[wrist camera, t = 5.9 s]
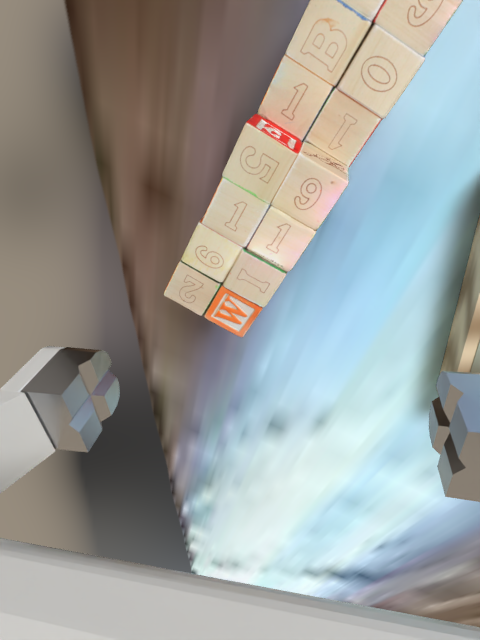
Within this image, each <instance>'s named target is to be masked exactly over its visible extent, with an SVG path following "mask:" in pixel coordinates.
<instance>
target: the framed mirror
mask: <svg viewBox="0 0 480 640" xmlns="http://www.w3.org/2000/svg"><path fill="white" fill-rule="evenodd" d="M442 371H451V372H469V373H480V215H479V219H478V223H477V227H476V231H475V235H474V239H473V243H472V247H471V251H470V255H469V259H468V263H467V267H466V271H465V275H464V279H463V283H462V287H461V291H460V295H459V299H458V303H457V307H456V311H455V315H454V319H453V323H452V327H451V331H450V335H449V339H448V343H447V347H446V351H445V355H444V359H443V363H442V367H441V370H440V373H441V372H442ZM439 375H440V374H439ZM436 389H437V387H436ZM437 392H438V391H437ZM438 395H439V394H438Z"/></svg>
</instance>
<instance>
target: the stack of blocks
mask: <svg viewBox="0 0 480 640" xmlns="http://www.w3.org/2000/svg"><path fill="white" fill-rule="evenodd" d="M462 1H463V0H310V2H309V4H308V6H307V8H306V10H305V12H304V15H303V17H302V19H301V21H300V23H299V25H298V27H297V29H296V31H295V33H294V35H293V38H292V40H291V42H290V44H289V46H288V48H287V50H286V53H285V55H284V56H283V58H282V60H281V62H280V64H279V66H278V68H277V70H276V72H275V75H274V77H273V79H272V81H271V83H270V85H269V88H268V90H267V92H266V94H265V96H264V98H263V100H262V103H261V105H260V107H259V109H258V114H255V115H253V117H251V118H250V119H249V120H248V121H247V122H246V123H245V125H244V128H243V130H242V132H241V134H240V136H239V138H238V141H237V143H236V145H235V147H234V149H233V152H232V154H231V156H230V158H229V160H228V163H227V165H226V167H225V169H224V171H223V173H222V179H221V181H220V183H219V185H218V187H217V189H216V192H215V194H214V196H213V198H212V200H211V202H210V204H209V206H208V209H207V211H206V213H205V215H204V216H203V217H202V219H201V220H200V221H199V223H198V225H197V227H196V229H195V231H194V233H193V235H192V237H191V239H190V242H189V244H188V246H187V248H186V250H185V252H184V254H183V256H182V259H181V260H180V262H179V263H178V265H177V267H176V269H175V271H174V273H173V275H172V277H171V279H170V281H169V283H168V285H167V287H166V289H165V291H164V295H165V296H166V297H168V298H170V299H172V300H173V301H175V302H177V303H179V304H181V305H182V306H184V307H186V308H188V309H189V310H191V311H193V312H195V313H196V314H198V315H200V316H202V315H204V317H205V318H207V319H208V320H209V321H211V322H213V323H215V324H217V325H219V326H221V327H222V328H224V329H226V330H228V331H230V332H232V333H234V334H236V335H238V336H240V337H243V336H244V335H245V333H246V332H247V331H248V329H249V328H250V326H251V325H252V323H253V322H254V320H255V319H256V318H257V316H258V315H259V313H260V312H261V310H262V308H263V307H265V306H266V305H267V303H268V302H269V300H270V299H271V297H272V296H273V294H274V293H275V291H276V290H277V288H278V287H279V285H280V284H281V282H282V281H283V279H284V278H285V276H286V274H287V272H288V271H290V270H292V268H293V267H294V265H295V264H296V263H297V261H298V259H299V258H300V256H301V255H302V254H303V252H304V251H305V249H306V248H307V246H308V245H309V243H310V242H311V240H312V239H313V237H314V235H315V233H316V231H317V229H318V228H319V227H320V226H321V224H322V223H323V221H324V220H325V218H326V217H327V215H328V214H329V212H330V211H331V209H332V208H333V206H334V205H335V203H336V202H337V201H338V199H339V197H340V196H341V194H342V193H343V191H344V190H345V189H346V187H347V186H348V184H349V177H348V168H349V167H350V165H351V164H352V162H353V161H354V159H355V158H356V156H357V155H358V154H359V152H360V151H361V149H362V148H363V146H364V145H365V143H366V142H367V140H368V139H369V138H370V136H371V135H372V133H373V132H374V130H375V129H376V127H377V126H378V124H379V123H380V122H381V120H382V119H384V118H385V117H386V116H387V115H388V113H389V112H390V110H391V109H392V107H393V106H394V105H395V103H396V102H397V100H398V99H399V98H400V96H401V95H402V93H403V92H404V90H405V89H406V87H407V86H408V84H409V83H410V81H411V80H412V79H413V77H414V76H415V74H416V73H417V71H418V70H419V68H420V67H421V65H422V64H423V62H424V61H425V55H426V53H427V52H428V50H429V49H430V48H431V46H432V45H433V43H434V42H435V41H436V39H437V38H438V36H439V35H440V33H441V32H442V30H443V29H444V27H445V26H446V24H447V23H448V22H449V20H450V19H451V17H452V16H453V14H454V13H455V11H456V10H457V8H458V7H459V6H460V4H461V3H462Z"/></svg>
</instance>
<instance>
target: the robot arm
mask: <svg viewBox="0 0 480 640" xmlns="http://www.w3.org/2000/svg"><path fill="white" fill-rule="evenodd" d="M111 364H112V363H111V360H110V358H109V355H108V353H107V352H104V351H102V350H93V349H83V348H71V347H66V348H65V347H55V346H47V347H44V348H42V349H41V350H39V351H38V353H36V354H35V355H34V356H33V357H32V358H31V359H30V360H29V361H28V362H27V363H26V364H25V365H24V366H23V367H22V368H21V369H20V370H19V371H18V372H17V373H16V374H15V375H14V376H13V377H12V378H11V379H10V380H9V381H8V382H7V383H6V384H5V385H4V386H3V387H2V388H1V389H0V493H1V492H3V491H4V490H5V489H7V488H8V487H9V486H11V485H12V484H13V483H14V482H16V481H17V480H18V479H20V478H21V477H22V476H24V475H25V474H26V473H28V472H29V471H30V470H32V469H33V468H34V467H35V466H37V465H38V464H39V463H41V462H42V461H43V460H44V459H46V458H47V457H49V456H50V455H51V454H52V453H54V452H55V449H59V450H70V451H80V452H89V450H90V449H91V447H92V445H93V444H94V442H95V441H96V439H97V437H98V436H99V434H100V432H101V431H102V424H101V421H103V420H105V419H106V418H108V417H109V416H111V415H112V413H113V412H114V410H115V408H116V406H117V403H118V399H119V395H120V391H119V383H118V380H117V378H116V377H115V376H114V375H113V374H112V373H111V372H110V371H109V368H110V366H111ZM436 387H437V391H438V394H439V397H438V398H436V399H435V400H434V401H432V403H431V408H430V413H429V432H430V439H431V443H432V447H433V448H434V449H435V450H436V451H437V452H438V453H439V454H440V459H439V462H438V466H437V467H438V471H439V474H440V478H441V482H442V486H443V489H444V493H445V497H451V498H458V499H465V500H471V501H478V502H480V373H469V372H451V371H442V372H441V373H440V375H439V377H438V380H437V384H436ZM0 640H480V628H479V627H474V626H469V625H463V624H458V623H453V622H447V621H442V620H437V619H431V618H426V617H421V616H415V615H410V614H405V613H399V612H394V611H389V610H383V609H378V608H373V607H367V606H362V605H357V604H351V603H346V602H341V601H335V600H330V599H325V598H319V597H314V596H309V595H303V594H298V593H293V592H287V591H282V590H277V589H271V588H266V587H261V586H255V585H250V584H245V583H239V582H234V581H229V580H223V579H218V578H213V577H207V576H202V575H196V574H191V573H186V572H180V571H175V570H169V569H164V568H159V567H153V566H148V565H143V564H138V563H132V562H127V561H121V560H116V559H111V558H105V557H100V556H95V555H89V554H84V553H78V552H73V551H68V550H62V549H57V548H52V547H46V546H41V545H36V544H30V543H25V542H20V541H14V540H8V539H3V538H0Z"/></svg>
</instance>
